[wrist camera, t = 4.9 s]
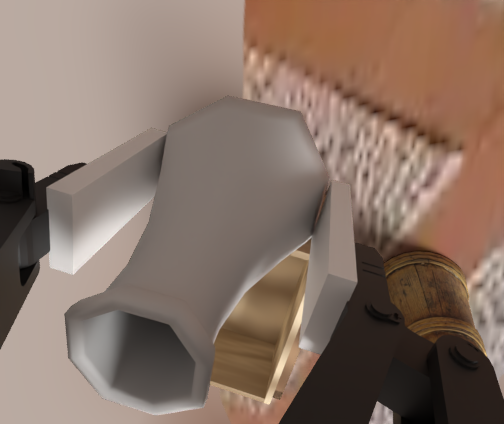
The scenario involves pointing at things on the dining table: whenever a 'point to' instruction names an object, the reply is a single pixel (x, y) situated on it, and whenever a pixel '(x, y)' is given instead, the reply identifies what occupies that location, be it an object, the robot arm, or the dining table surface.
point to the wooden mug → (431, 296)
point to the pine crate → (262, 330)
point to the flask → (199, 252)
